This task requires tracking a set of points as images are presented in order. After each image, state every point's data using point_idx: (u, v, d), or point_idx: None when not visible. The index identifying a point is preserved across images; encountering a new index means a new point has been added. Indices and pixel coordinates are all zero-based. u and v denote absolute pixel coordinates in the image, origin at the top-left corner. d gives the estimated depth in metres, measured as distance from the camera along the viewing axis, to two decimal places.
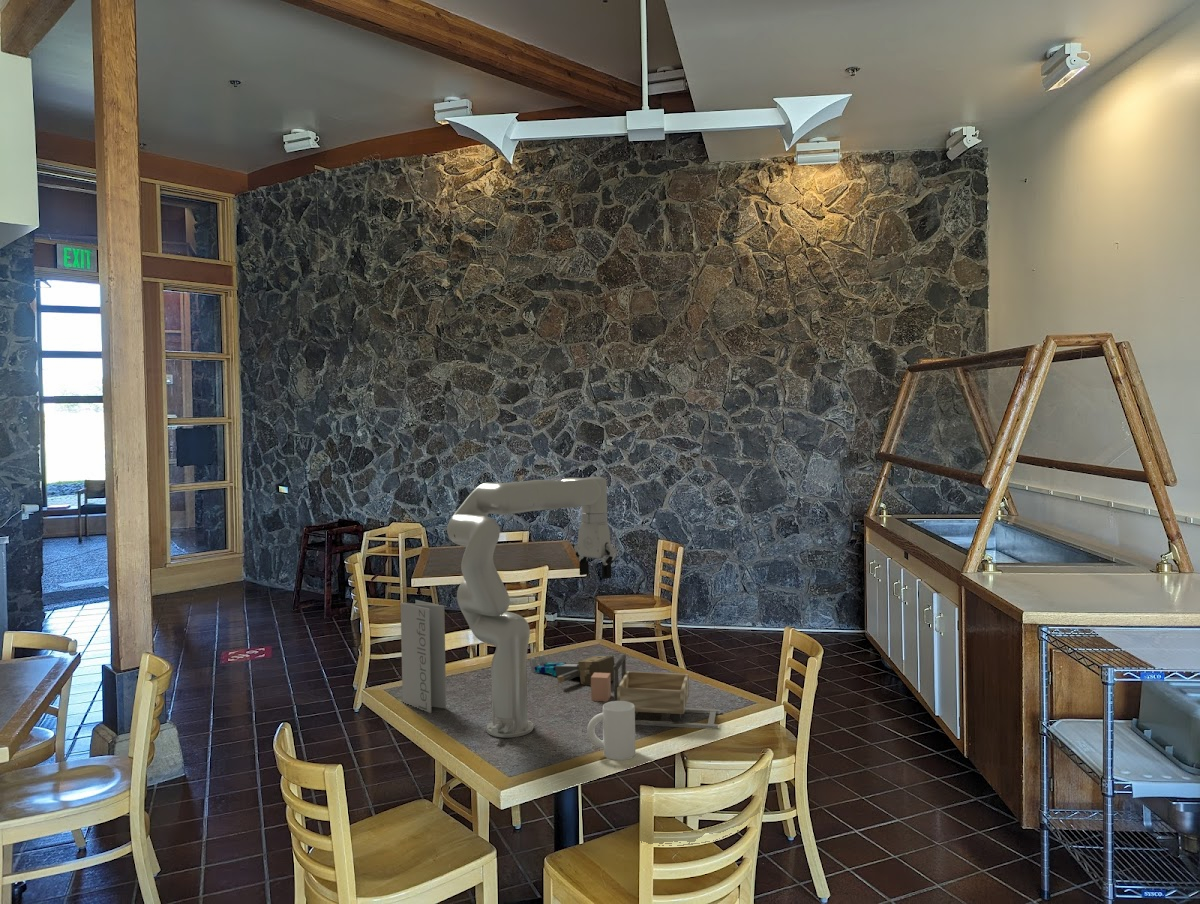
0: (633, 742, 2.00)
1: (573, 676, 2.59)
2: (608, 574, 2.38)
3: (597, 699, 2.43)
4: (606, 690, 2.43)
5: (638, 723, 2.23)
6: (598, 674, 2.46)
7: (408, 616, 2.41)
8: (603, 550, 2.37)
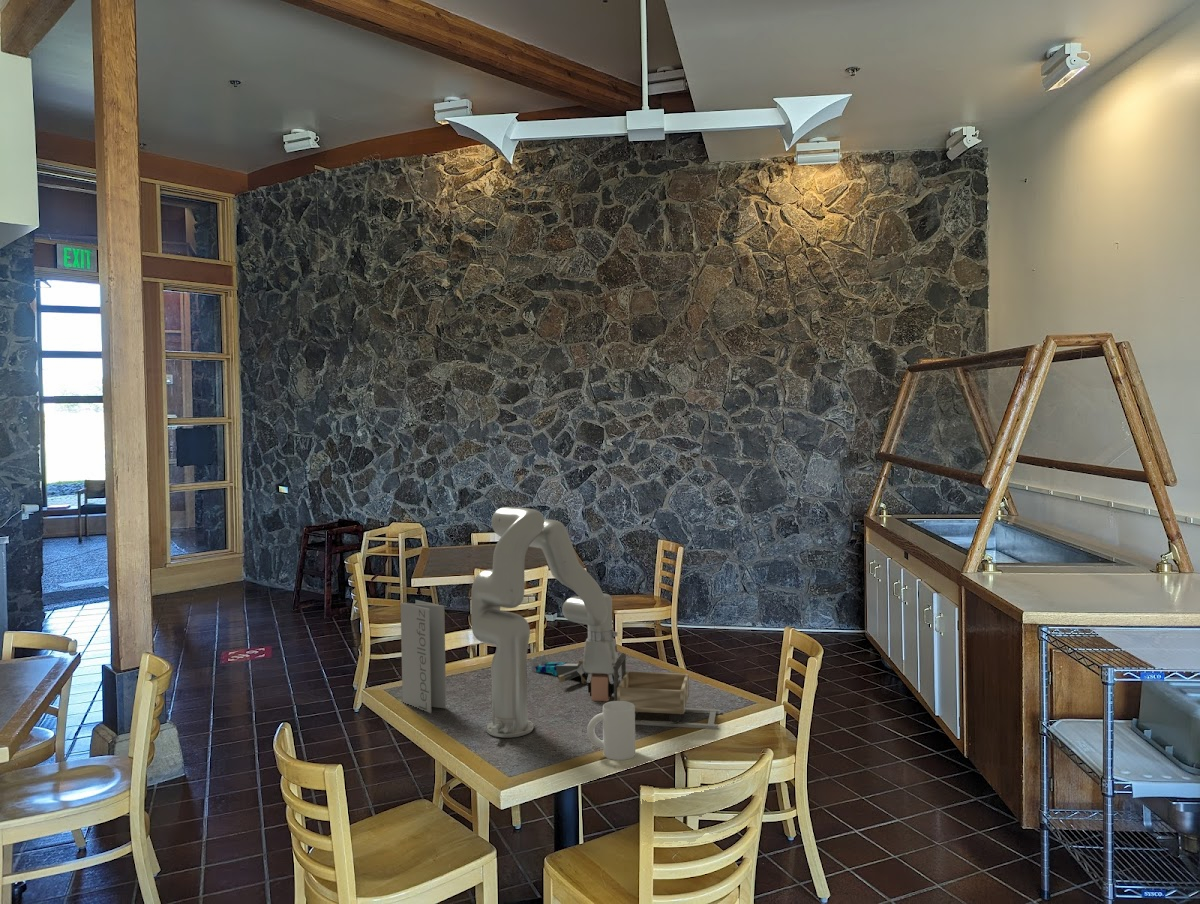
0: (633, 742, 2.00)
1: (574, 675, 2.59)
2: None
3: (597, 699, 2.43)
4: (606, 690, 2.43)
5: (638, 723, 2.23)
6: (598, 674, 2.46)
7: (408, 616, 2.41)
8: None
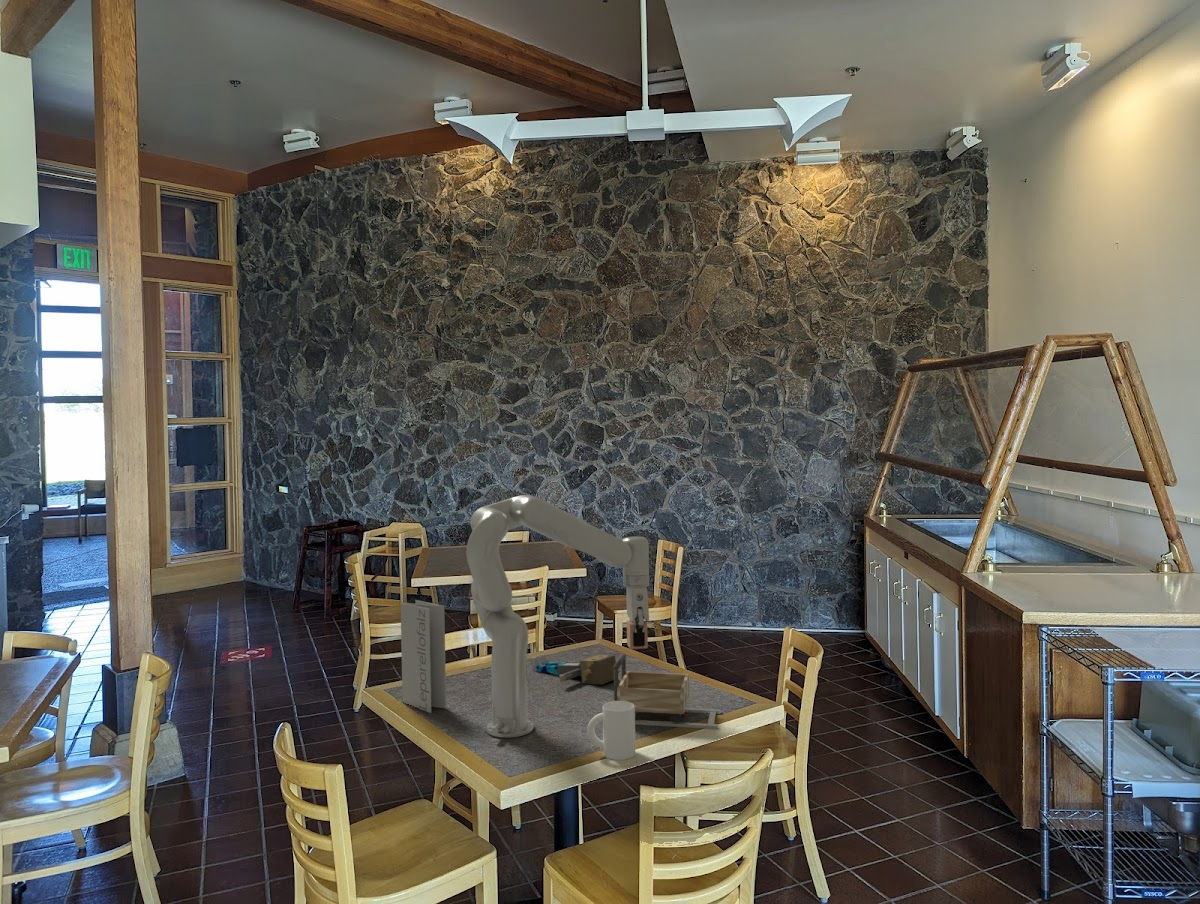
0: (633, 742, 2.00)
1: (575, 675, 2.60)
2: None
3: (628, 645, 2.34)
4: (629, 637, 2.31)
5: (638, 723, 2.23)
6: None
7: (408, 616, 2.41)
8: None
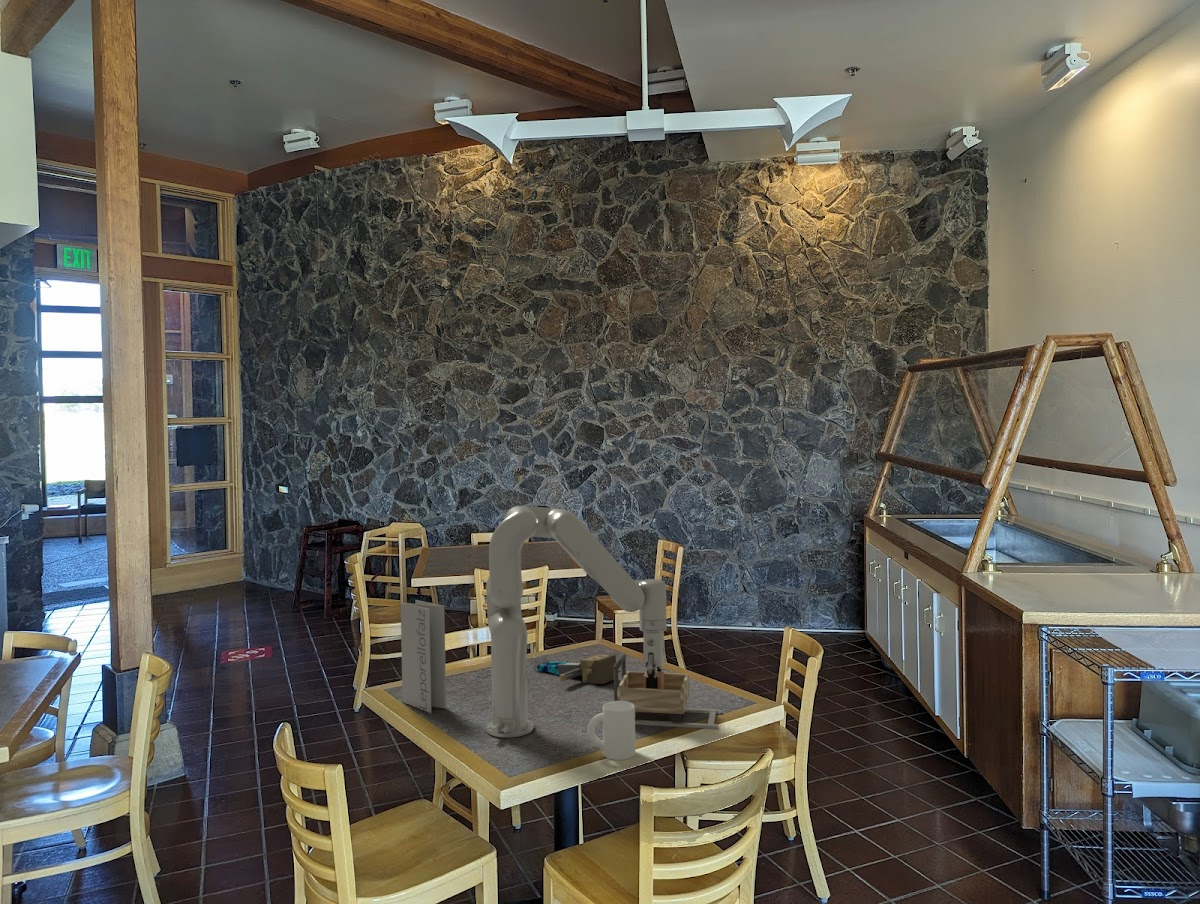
0: (633, 742, 2.00)
1: (575, 674, 2.60)
2: None
3: None
4: None
5: (638, 723, 2.23)
6: None
7: (408, 616, 2.41)
8: None
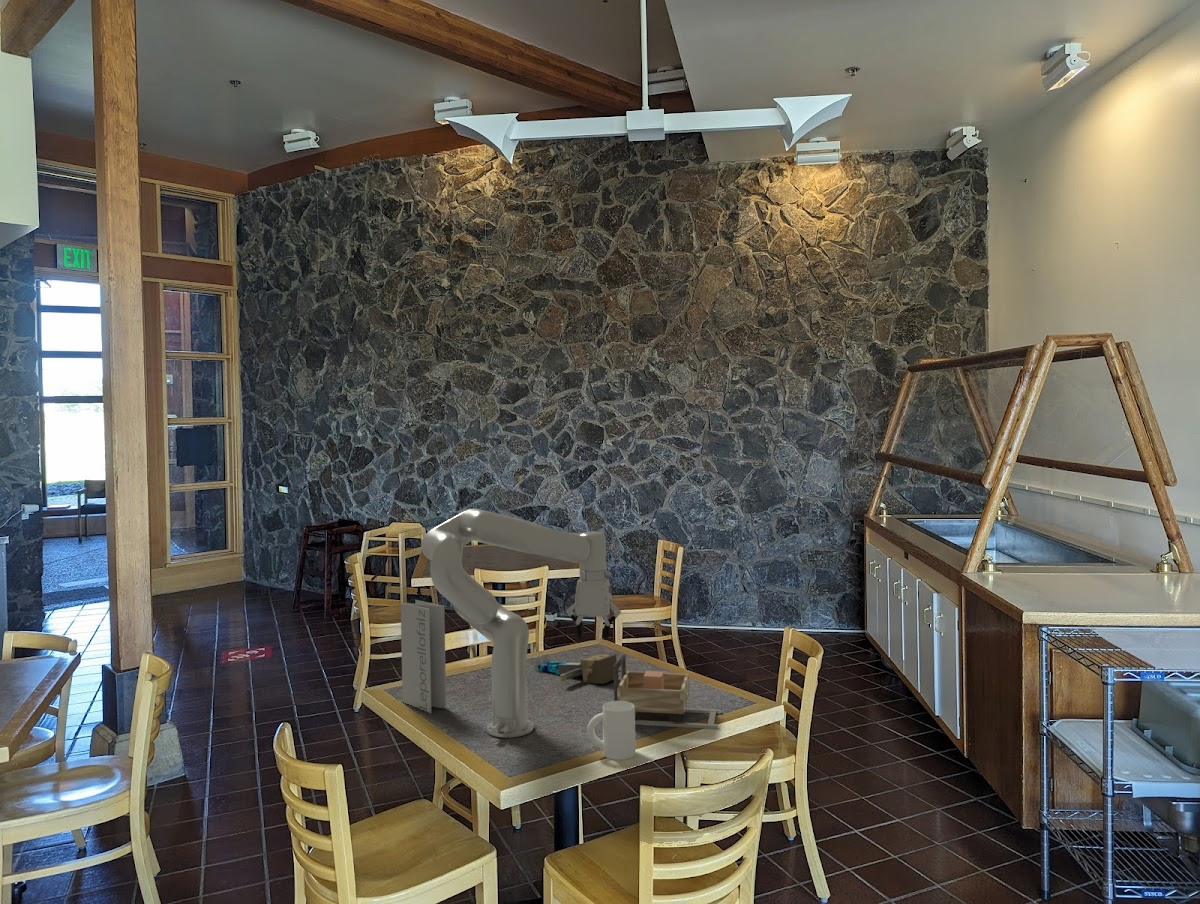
0: (633, 742, 2.00)
1: (576, 674, 2.61)
2: None
3: None
4: None
5: (638, 723, 2.23)
6: (655, 672, 2.29)
7: (408, 616, 2.41)
8: None
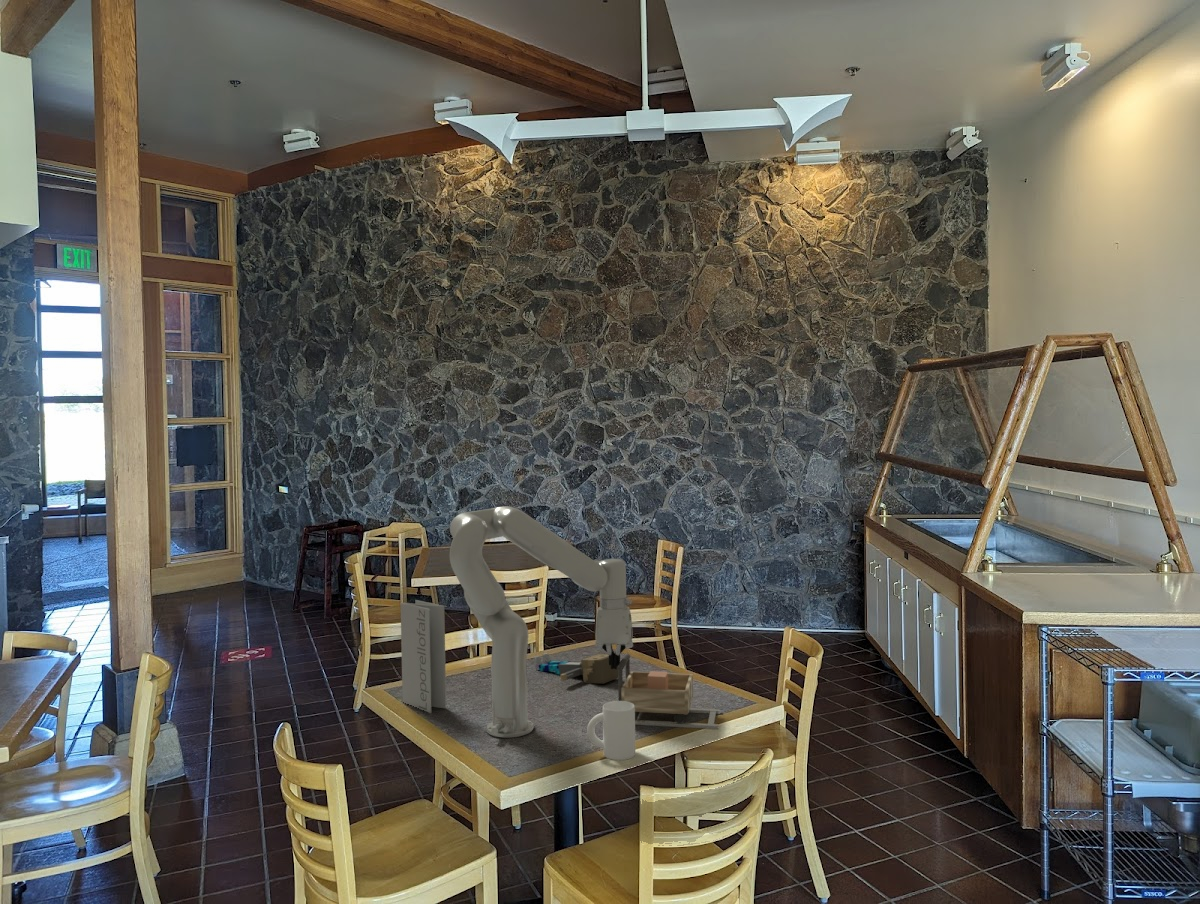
0: (633, 742, 2.00)
1: (576, 674, 2.61)
2: None
3: None
4: None
5: (638, 723, 2.23)
6: (659, 673, 2.29)
7: (408, 616, 2.41)
8: None
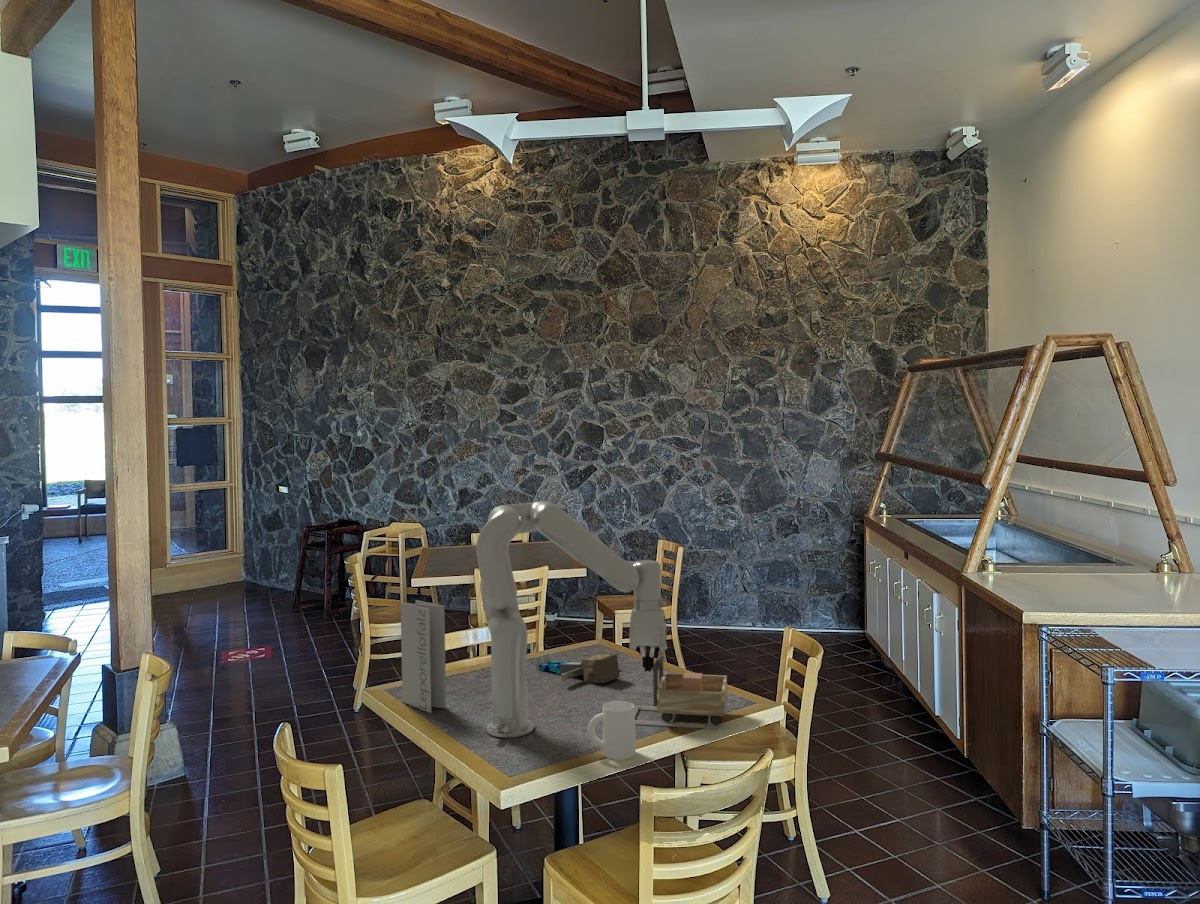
0: (633, 742, 2.00)
1: (577, 674, 2.61)
2: None
3: None
4: None
5: (638, 723, 2.23)
6: (694, 674, 2.27)
7: (408, 616, 2.41)
8: None
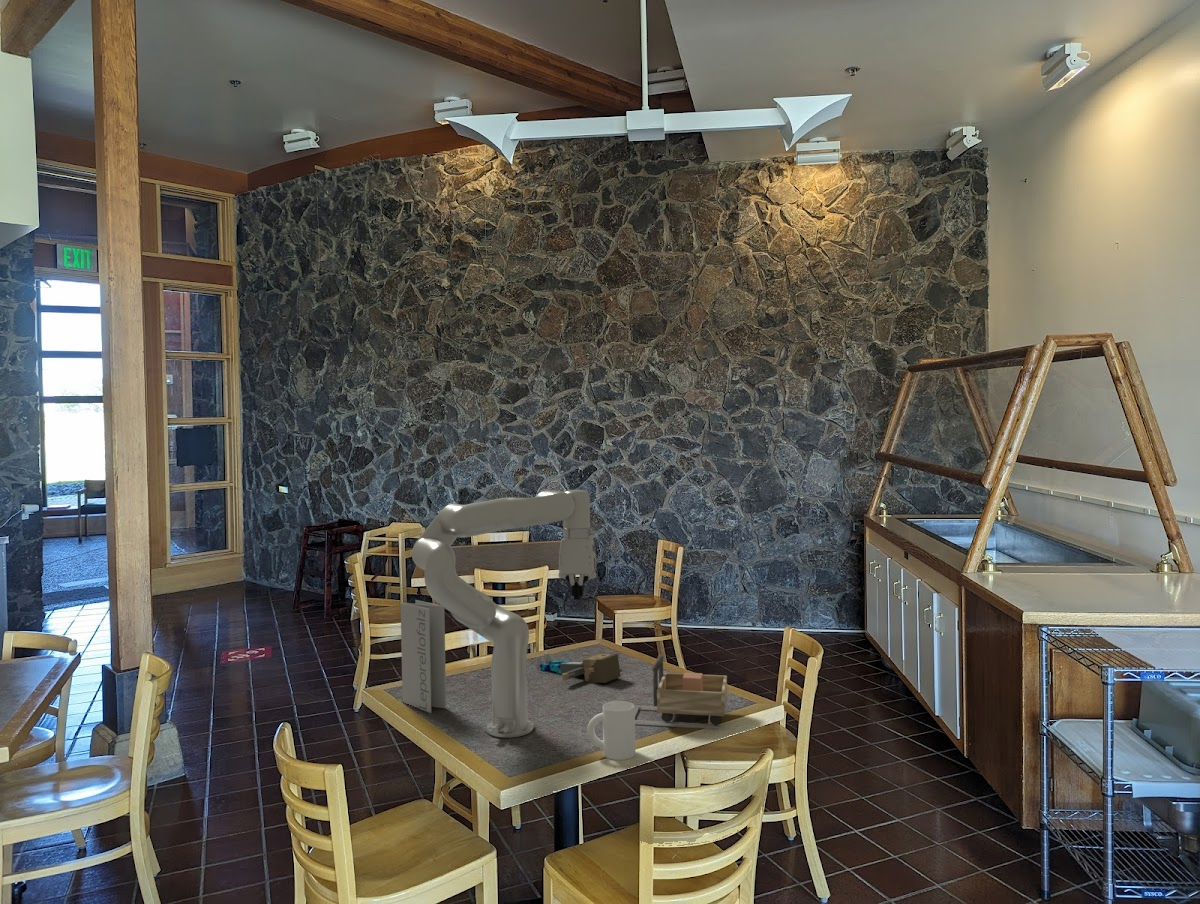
0: (633, 742, 2.00)
1: (578, 673, 2.62)
2: None
3: None
4: None
5: (638, 723, 2.23)
6: (694, 674, 2.27)
7: (408, 616, 2.41)
8: None
